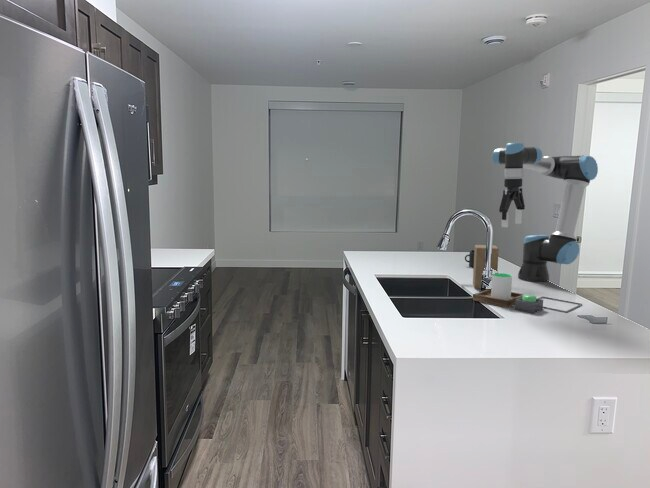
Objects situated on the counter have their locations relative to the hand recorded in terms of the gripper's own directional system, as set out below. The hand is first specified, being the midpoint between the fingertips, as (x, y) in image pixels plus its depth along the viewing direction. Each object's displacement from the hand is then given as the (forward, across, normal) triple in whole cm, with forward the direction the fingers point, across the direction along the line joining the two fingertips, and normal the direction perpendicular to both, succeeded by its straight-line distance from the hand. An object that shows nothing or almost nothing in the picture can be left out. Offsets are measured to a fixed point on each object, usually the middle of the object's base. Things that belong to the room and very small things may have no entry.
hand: (511, 225), depth 222 cm
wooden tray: (+31, +16, +3) cm, 35 cm away
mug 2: (+30, +16, +3) cm, 34 cm away
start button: (+30, +20, +18) cm, 40 cm away
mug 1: (+33, -46, -43) cm, 71 cm away
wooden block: (+32, -2, -14) cm, 35 cm away
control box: (+31, +20, +18) cm, 41 cm away
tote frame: (+31, +6, +22) cm, 39 cm away
